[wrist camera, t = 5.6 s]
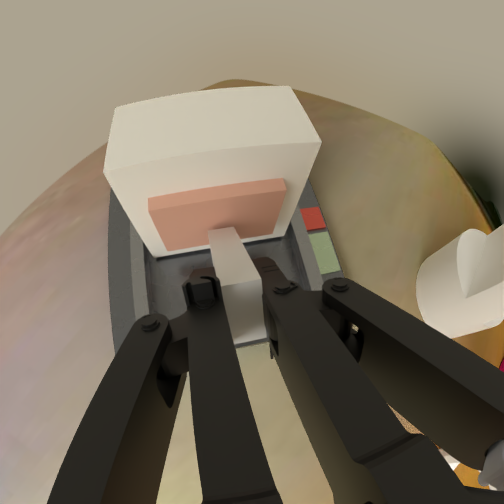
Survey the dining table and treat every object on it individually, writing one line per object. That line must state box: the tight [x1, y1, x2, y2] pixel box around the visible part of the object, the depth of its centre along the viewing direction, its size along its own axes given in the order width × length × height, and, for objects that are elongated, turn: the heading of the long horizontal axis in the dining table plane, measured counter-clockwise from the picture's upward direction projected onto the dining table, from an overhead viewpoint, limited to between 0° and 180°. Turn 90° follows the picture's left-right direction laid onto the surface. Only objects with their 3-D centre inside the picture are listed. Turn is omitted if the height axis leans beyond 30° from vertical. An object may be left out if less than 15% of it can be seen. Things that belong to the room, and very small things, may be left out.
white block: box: [103, 86, 322, 258], centre depth 16 cm, size 10×6×10 cm, turn 102°
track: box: [108, 179, 344, 355], centre depth 20 cm, size 18×18×6 cm
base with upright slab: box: [416, 224, 504, 339], centre depth 16 cm, size 9×9×12 cm
